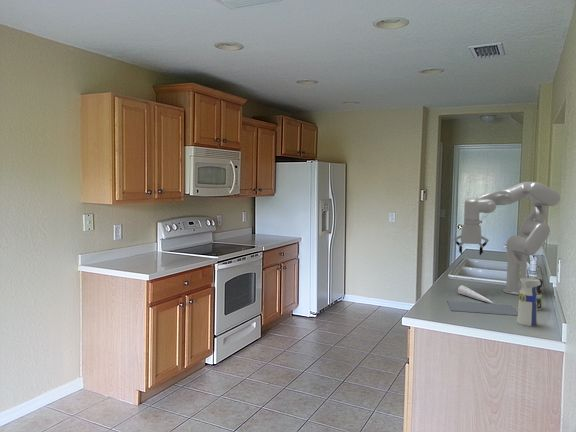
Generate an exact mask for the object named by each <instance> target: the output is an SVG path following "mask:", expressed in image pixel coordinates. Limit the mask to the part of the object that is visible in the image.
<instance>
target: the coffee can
mask: <svg viewBox="0 0 576 432" xmlns="http://www.w3.org/2000/svg"><path fill="white" fill-rule="evenodd" d="M521 278H532V277H529V276H528V277H527V276H526V277H521ZM534 278H535V279H538V280H539V281H540V283H541V285H539V286H537V287H536V292H537V293H538V294H537V295H536V302H537V311H541V310H542V304H543V302H542V301H543V298H542V297H543V285H544V284H543V282H544V280H543V279H541V278H537V277H534ZM519 282H520V278H519ZM520 290H521V282H520V285H519V295H520ZM519 295H518V296H519ZM517 300H518V302H517V303H518V305H519V300H520V299H519V298H518V299H517ZM518 305H517V306H518Z"/></svg>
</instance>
